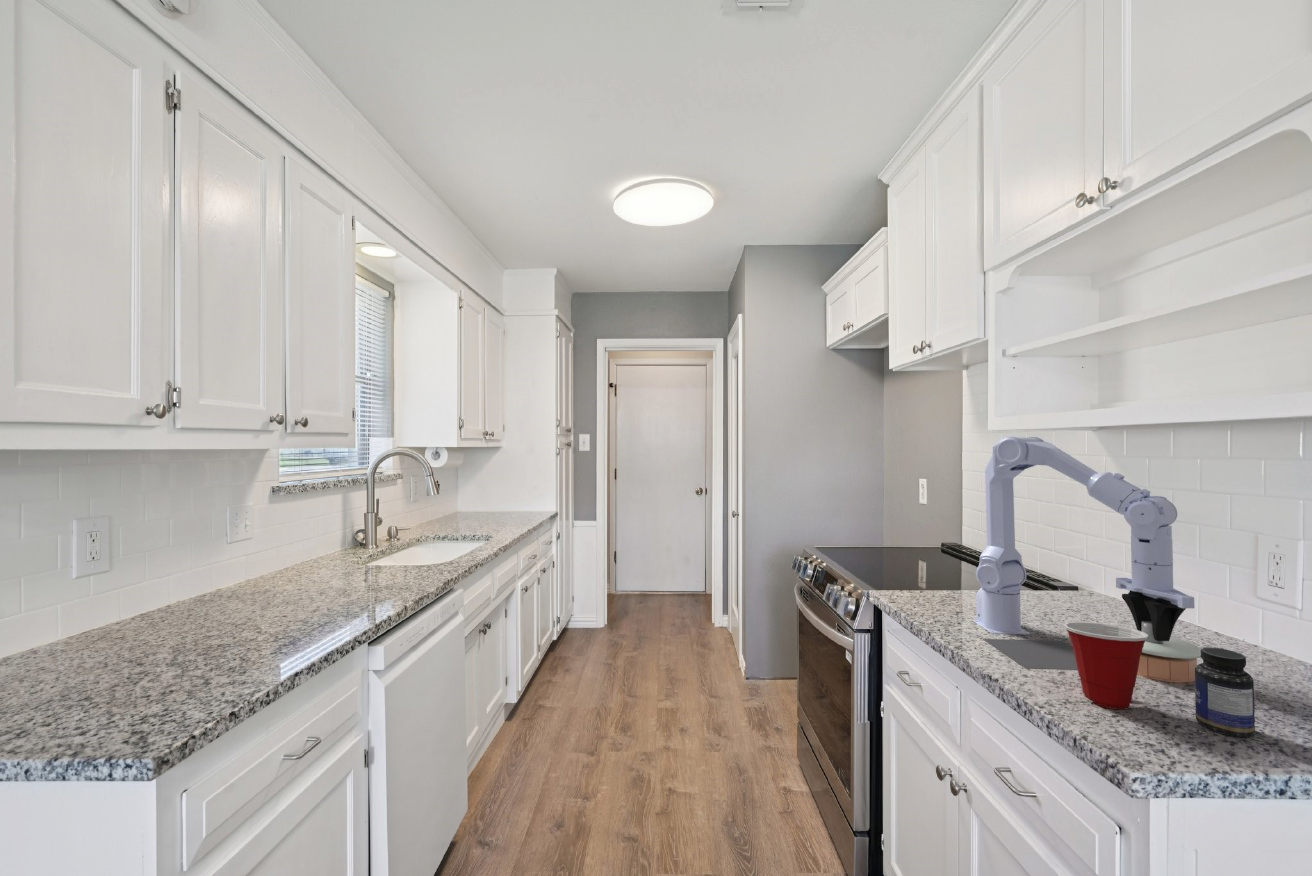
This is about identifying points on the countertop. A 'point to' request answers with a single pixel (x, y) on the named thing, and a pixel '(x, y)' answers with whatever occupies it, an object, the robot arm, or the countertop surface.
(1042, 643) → the mat
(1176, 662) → the bowl
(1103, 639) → the plastic cup
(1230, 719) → the pill bottle
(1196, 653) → the lid
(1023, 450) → the robot arm
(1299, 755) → the countertop surface
